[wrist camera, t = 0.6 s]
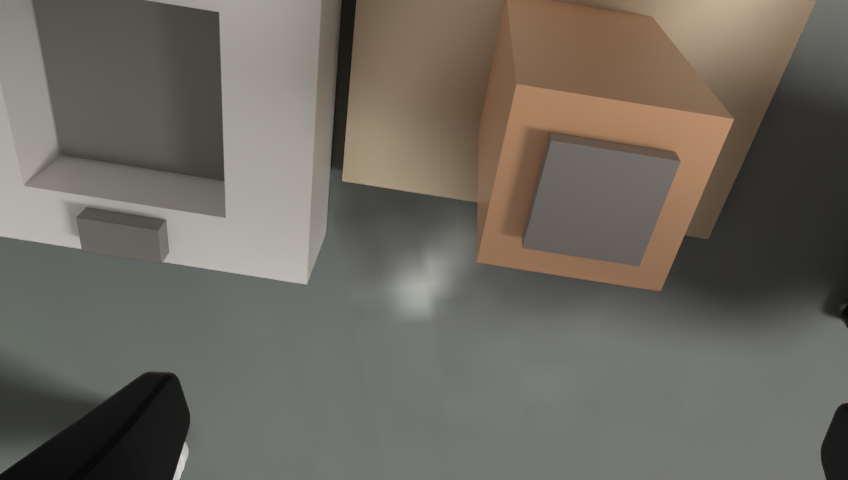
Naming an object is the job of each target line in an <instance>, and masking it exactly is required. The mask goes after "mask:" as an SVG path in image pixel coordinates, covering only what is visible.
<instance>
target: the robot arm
mask: <svg viewBox="0 0 848 480" xmlns="http://www.w3.org/2000/svg"><path fill="white" fill-rule="evenodd" d="M842 321H843V322H844V323H845V325H846V326H847V328H848V305H847V307H846V308H845V310H844V312H843V314H842ZM189 424H190V413H189V409H188V406H187V403H186V400H185V397H184V393H183V390H182V387H181V384H180V381H179V379H178V377H177V376H176V375H175V374H174V373H171V372H146V373H144V374H142V375H141V376H139V377H138V378H136V379H135V380H133V381H132V382H131V383H129V384H128V385H126V386H125V387H123V388H122V389H121V390H119V391H118V392H116V393H115V394H114V395H112V396H111V397H109V398H108V399H106V400H105V401H104V402H102V403H101V404H99V405H98V406H96V407H95V408H94V409H92V410H91V411H89V412H88V413H87V414H85V415H84V416H82V417H81V418H79V419H78V420H77V421H75V422H74V423H72V424H71V425H69V426H68V427H67V428H65V429H64V430H62V431H61V432H60V433H58V434H57V435H55V436H54V437H52V438H51V439H50V440H48V441H47V442H45V443H44V444H42V445H41V446H40V447H38V448H37V449H35V450H34V451H33V452H31V453H30V454H28V455H27V456H25V457H24V458H23V459H21V460H20V461H18V462H17V463H15V464H14V465H13V466H11V467H10V468H8V469H7V470H6V471H4V472H3V473H1V474H0V480H173V478H174V475H175V472H176V468H177V465H178V462H179V459H180V455H181V452H182V449H183V446H184V442H185V439H186V436H187V433H188V429H189ZM821 462H822V466H823V470H824V473H825V477H826V480H848V403H844V404H842V405H840V406H839V407H838V408H837V410H836V411H835V414H834V416H833V419H832V421H831V424H830V426H829V428H828V431H827V433H826V436H825V438H824V441H823V443H822V447H821Z"/></svg>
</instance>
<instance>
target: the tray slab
mask: <svg viewBox="0 0 848 480" xmlns="http://www.w3.org/2000/svg"><path fill="white" fill-rule="evenodd" d="M504 1H505V0H356V11H355V24H354V36H353V49H352V62H351V74H350V87H349V100H348V112H347V125H346V137H345V150H344V163H343V175H342V181H345V182H352V183H358V184H364V185H370V186H377V187H383V188H389V189H395V190H402V191H408V192H414V193H421V194H427V195H433V196H439V197H446V198H452V199H458V200H465V201H471V202H477V203H478V150H479V126H480V121H481V116H482V111H483V106H484V101H485V96H486V91H487V86H488V81H489V76H490V71H491V66H492V61H493V56H494V51H495V46H496V41H497V36H498V31H499V26H500V21H501V16H502V11H503V6H504ZM550 1H557V2H563V3H569V4H575V5H581V6H587V7H593V8H600V9H606V10H612V11H618V12H624V13H630V14H636V15H642V16H649V17H653V18H654V20H655V21H656V22H657V23H658V25H659V26H660V27H661V28H662V30H663V31H664V32H665V33H666V35H667V36H668V37H669V38H670V40H671V41H672V42H673V43H674V45H675V46H676V47H677V48H678V50H679V51H680V52H681V53H682V55H683V56H684V57H685V58H686V60H687V61H688V62H689V63H690V65H691V66H692V67H693V68H694V70H695V71H696V72H697V73H698V75H699V76H700V77H701V78H702V80H703V81H704V82H705V83H706V85H707V86H708V87H709V88H710V90H711V91H712V92H713V93H714V95H715V96H716V97H717V98H718V100H719V101H720V102H721V103H722V105H723V106H724V107H725V108H726V110H727V111H728V112H729V113H730V115H731V116H732V117H733V118H734V121H733V123H732V125H731V128H730V130H729V132H728V135H727V137H726V139H725V142H724V144H723V146H722V149H721V151H720V153H719V156H718V158H717V160H716V163H715V165H714V168H713V170H712V172H711V175H710V177H709V179H708V182H707V184H706V186H705V189H704V191H703V193H702V196H701V198H700V200H699V203H698V205H697V207H696V210H695V212H694V214H693V217H692V219H691V221H690V224H689V226H688V228H687V231H686V233H685V235H684V236H691V237H697V238H703V239H709V237H710V235H711V233H712V230H713V228H714V226H715V224H716V222H717V219H718V217H719V215H720V213H721V210H722V208H723V206H724V204H725V202H726V199H727V197H728V195H729V193H730V191H731V188H732V186H733V184H734V182H735V180H736V177H737V175H738V173H739V171H740V168H741V166H742V164H743V162H744V160H745V157H746V155H747V153H748V151H749V149H750V146H751V144H752V142H753V140H754V137H755V135H756V133H757V131H758V129H759V126H760V124H761V122H762V120H763V118H764V115H765V113H766V111H767V109H768V107H769V104H770V102H771V100H772V98H773V95H774V93H775V91H776V89H777V87H778V84H779V82H780V80H781V78H782V76H783V73H784V71H785V69H786V67H787V65H788V62H789V60H790V58H791V56H792V53H793V51H794V49H795V47H796V45H797V42H798V40H799V38H800V36H801V34H802V31H803V29H804V27H805V25H806V23H807V20H808V18H809V16H810V14H811V11H812V9H813V7H814V5H815V3H816V0H550Z"/></svg>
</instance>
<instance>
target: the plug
mask: <svg viewBox="0 0 848 480" xmlns="http://www.w3.org/2000/svg"><path fill="white" fill-rule="evenodd" d="M733 121H734V118H733V117H732V116H731V115H730V113H729V112H728V111H727V110H726V108H725V107H724V106H723V105H722V103H721V102H720V101H719V100H718V98H717V97H716V96H715V95H714V93H713V92H712V91H711V90H710V88H709V87H708V86H707V85H706V83H705V82H704V81H703V80H702V78H701V77H700V76H699V75H698V73H697V72H696V71H695V70H694V68H693V67H692V66H691V65H690V63H689V62H688V61H687V60H686V58H685V57H684V56H683V55H682V53H681V52H680V51H679V50H678V48H677V47H676V46H675V45H674V43H673V42H672V41H671V40H670V38H669V37H668V36H667V35H666V33H665V32H664V31H663V30H662V28H661V27H660V26H659V25H658V23H657V22H656V21H655V20H654V18H653V17H649V16H642V15H636V14H630V13H624V12H618V11H612V10H606V9H600V8H593V7H587V6H581V5H575V4H569V3H563V2H557V1H550V0H505V1H504V6H503V11H502V16H501V21H500V26H499V31H498V36H497V41H496V46H495V51H494V56H493V61H492V66H491V71H490V76H489V81H488V86H487V91H486V96H485V101H484V106H483V111H482V116H481V121H480V126H479V150H478V205H477V260H476V262H477V263H483V264H489V265H496V266H502V267H508V268H515V269H521V270H527V271H534V272H540V273H546V274H553V275H559V276H565V277H572V278H578V279H584V280H591V281H597V282H603V283H610V284H616V285H622V286H628V287H635V288H641V289H647V290H654V291H660V292H661V289H662V287H663V285H664V282H665V280H666V278H667V275H668V273H669V271H670V268H671V266H672V264H673V261H674V259H675V257H676V254H677V252H678V250H679V247H680V245H681V243H682V240H683V238H684V235H685V233H686V231H687V228H688V226H689V224H690V221H691V219H692V217H693V214H694V212H695V210H696V207H697V205H698V203H699V200H700V198H701V196H702V193H703V191H704V189H705V186H706V184H707V182H708V179H709V177H710V175H711V172H712V170H713V168H714V165H715V163H716V160H717V158H718V156H719V153H720V151H721V149H722V146H723V144H724V142H725V139H726V137H727V135H728V132H729V130H730V128H731V125H732V123H733Z"/></svg>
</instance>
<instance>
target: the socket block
mask: <svg viewBox="0 0 848 480" xmlns="http://www.w3.org/2000/svg"><path fill="white" fill-rule="evenodd" d="M341 4H342V0H0V236H2V237H8V238H14V239H21V240H27V241H34V242H40V243H46V244H53V245H59V246H65V247H72V248H78V249H82V251H84V252H90V253H96V254H103V255H109V256H115V257H122V258H128V259H134V260H141V261H147V262H153V263H160V264H162V262H167V263H173V264H180V265H186V266H192V267H199V268H205V269H212V270H218V271H224V272H231V273H237V274H243V275H250V276H256V277H262V278H269V279H275V280H281V281H288V282H294V283H300V284H307V283H308V280H309V277H310V275H311V272H312V269H313V267H314V264H315V261H316V259H317V256H318V253H319V251H320V248H321V245H322V243H323V240H324V237H325V235H326V226H327V212H328V197H329V182H330V167H331V152H332V137H333V123H334V108H335V93H336V78H337V63H338V48H339V33H340V19H341Z"/></svg>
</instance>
